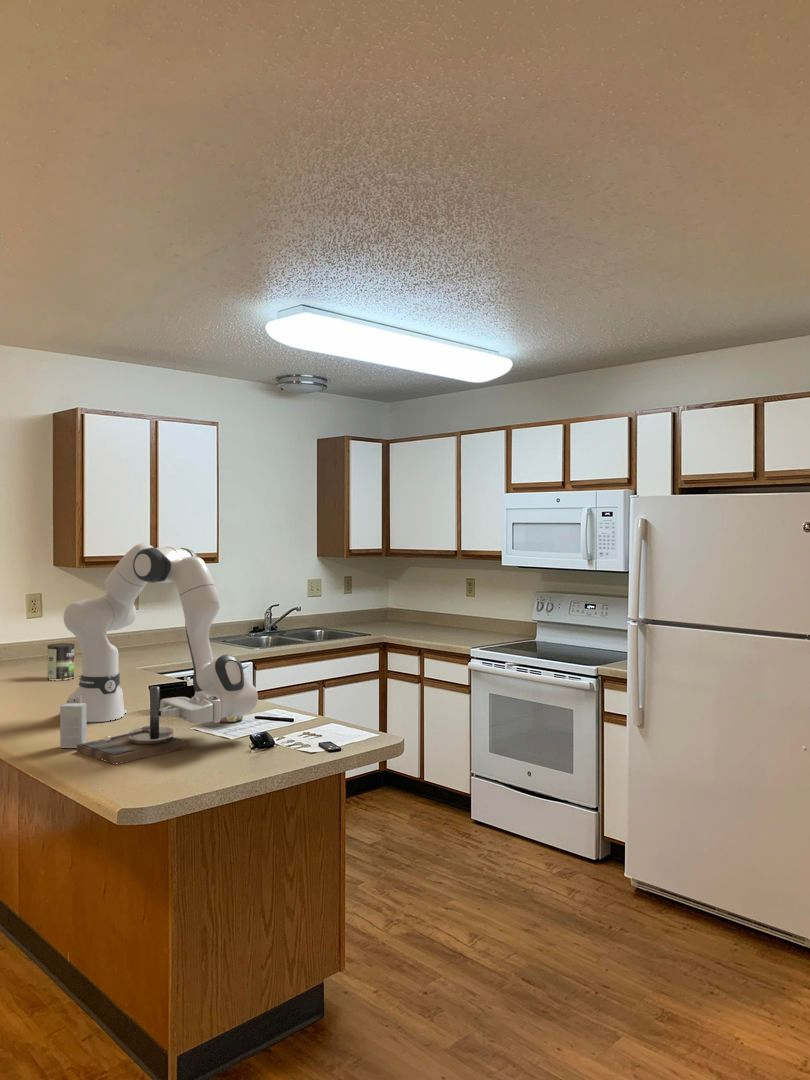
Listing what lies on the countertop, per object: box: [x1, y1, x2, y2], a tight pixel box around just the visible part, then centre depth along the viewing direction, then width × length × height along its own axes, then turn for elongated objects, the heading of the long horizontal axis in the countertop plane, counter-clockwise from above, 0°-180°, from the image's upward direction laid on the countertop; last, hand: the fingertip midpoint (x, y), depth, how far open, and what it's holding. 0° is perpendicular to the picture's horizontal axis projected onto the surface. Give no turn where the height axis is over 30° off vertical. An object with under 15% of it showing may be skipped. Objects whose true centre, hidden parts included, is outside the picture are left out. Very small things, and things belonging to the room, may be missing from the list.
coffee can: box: [47, 642, 76, 679], centre depth 330 cm, size 10×10×14 cm
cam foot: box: [103, 685, 174, 744], centre depth 223 cm, size 14×20×16 cm
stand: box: [76, 736, 187, 765], centre depth 224 cm, size 19×22×2 cm
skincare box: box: [59, 702, 88, 749], centre depth 226 cm, size 6×4×12 cm
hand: (159, 713), depth 220 cm, fingers closed, pressing on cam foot
